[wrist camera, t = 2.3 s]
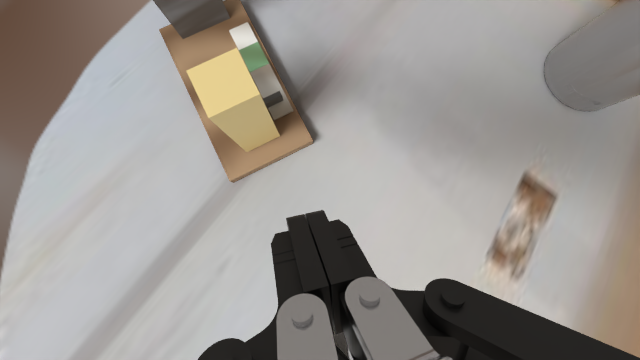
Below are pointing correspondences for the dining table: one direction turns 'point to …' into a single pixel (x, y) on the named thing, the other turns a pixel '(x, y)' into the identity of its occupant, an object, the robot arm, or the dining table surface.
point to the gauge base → (238, 32)
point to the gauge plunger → (234, 100)
